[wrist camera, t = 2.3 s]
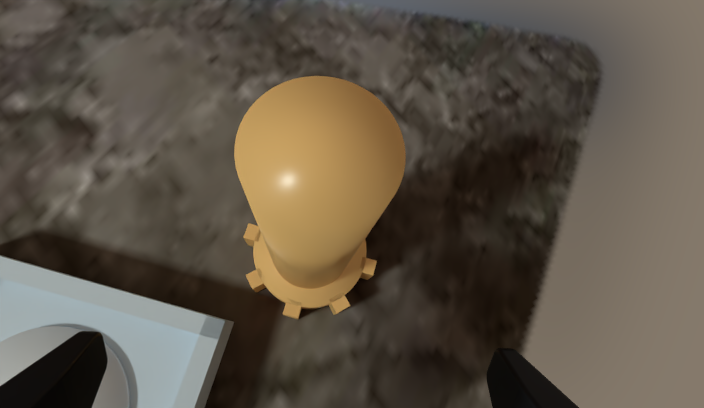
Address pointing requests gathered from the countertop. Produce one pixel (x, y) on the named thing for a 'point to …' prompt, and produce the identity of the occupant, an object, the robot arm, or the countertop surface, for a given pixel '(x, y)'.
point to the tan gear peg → (316, 187)
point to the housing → (111, 336)
